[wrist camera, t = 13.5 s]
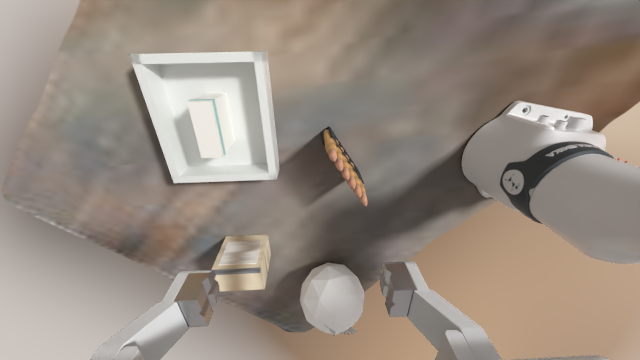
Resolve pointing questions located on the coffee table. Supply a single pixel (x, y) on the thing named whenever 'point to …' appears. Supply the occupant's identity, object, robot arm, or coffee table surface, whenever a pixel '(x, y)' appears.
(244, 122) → the tray
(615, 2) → the coffee table surface
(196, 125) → the teal-striped white carton
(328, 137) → the ammunition clip
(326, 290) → the geodesic sphere
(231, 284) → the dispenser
